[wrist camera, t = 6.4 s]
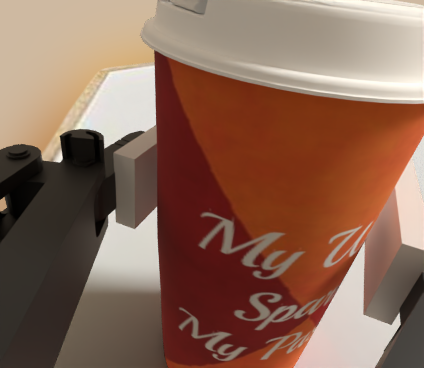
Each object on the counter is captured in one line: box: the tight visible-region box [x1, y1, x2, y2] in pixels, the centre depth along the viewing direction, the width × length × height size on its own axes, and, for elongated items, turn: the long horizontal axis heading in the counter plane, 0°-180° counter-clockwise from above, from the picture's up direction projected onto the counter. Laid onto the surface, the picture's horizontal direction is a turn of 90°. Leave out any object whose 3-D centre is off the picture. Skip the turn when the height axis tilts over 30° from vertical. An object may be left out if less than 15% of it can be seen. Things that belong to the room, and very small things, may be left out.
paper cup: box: [141, 0, 424, 368], centre depth 12 cm, size 8×8×14 cm
